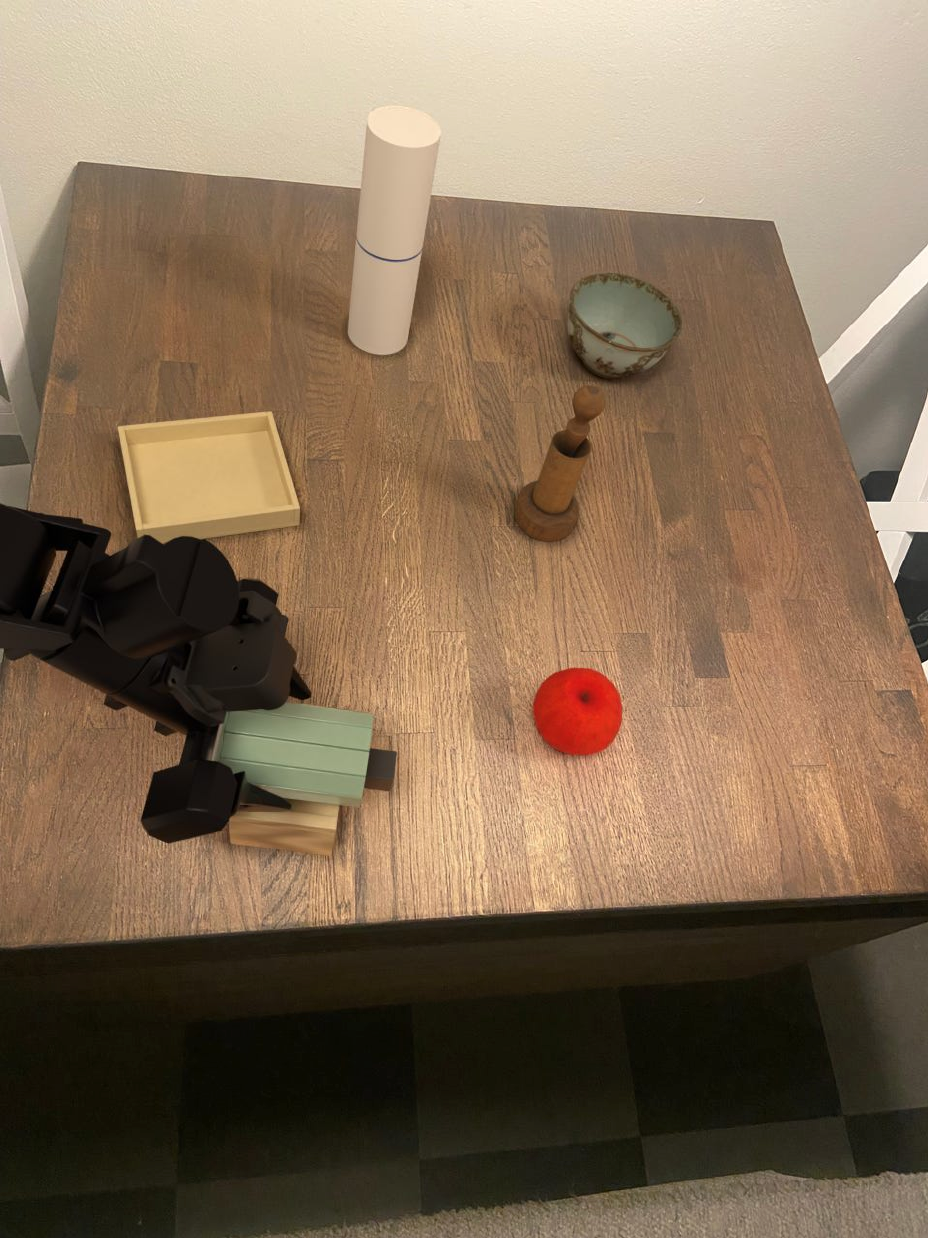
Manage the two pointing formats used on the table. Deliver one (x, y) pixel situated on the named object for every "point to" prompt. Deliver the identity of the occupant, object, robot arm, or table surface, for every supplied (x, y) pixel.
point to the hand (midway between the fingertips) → (297, 751)
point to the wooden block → (288, 828)
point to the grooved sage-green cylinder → (300, 751)
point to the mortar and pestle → (560, 474)
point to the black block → (380, 770)
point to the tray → (208, 477)
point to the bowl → (620, 324)
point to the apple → (578, 711)
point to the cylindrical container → (391, 225)
